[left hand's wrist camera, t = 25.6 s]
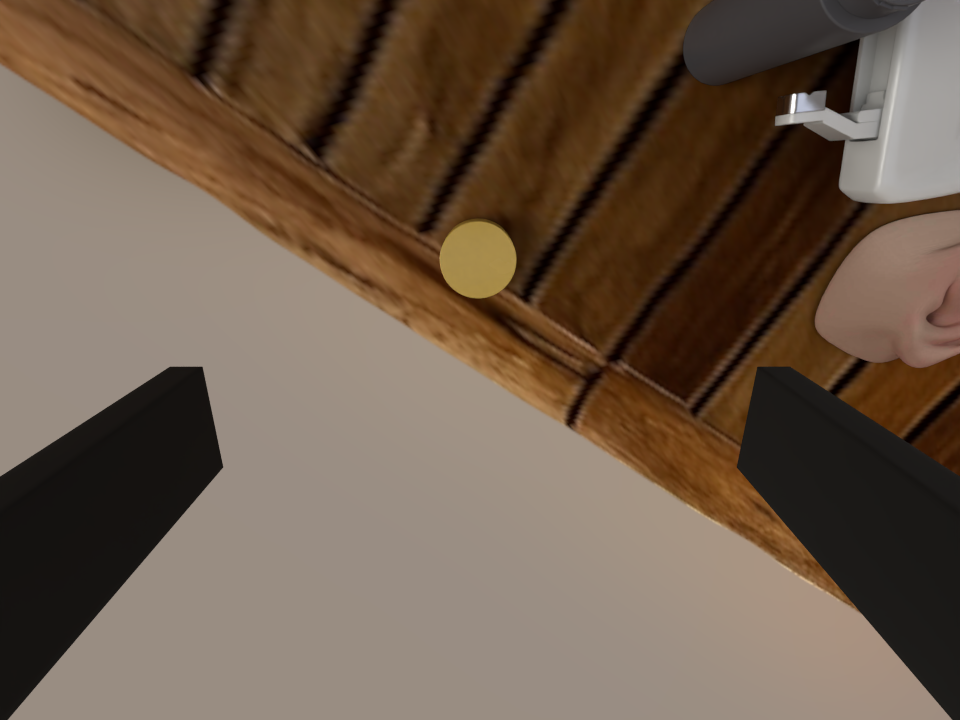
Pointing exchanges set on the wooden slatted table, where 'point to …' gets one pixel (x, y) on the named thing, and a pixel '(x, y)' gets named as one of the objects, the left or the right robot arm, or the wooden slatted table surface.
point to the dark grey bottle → (778, 32)
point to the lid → (478, 258)
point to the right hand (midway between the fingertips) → (791, 9)
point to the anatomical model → (898, 293)
